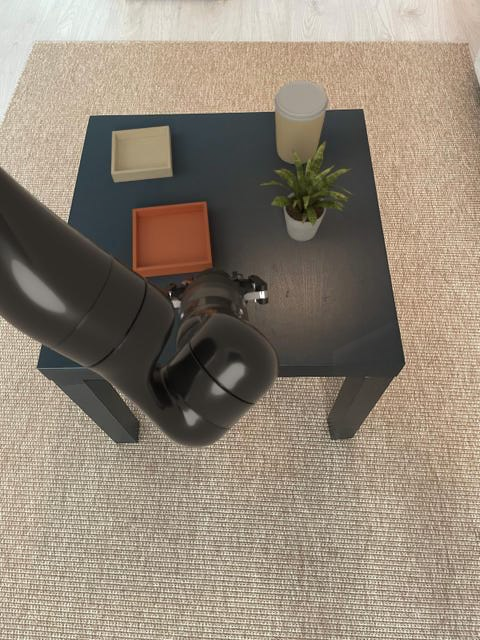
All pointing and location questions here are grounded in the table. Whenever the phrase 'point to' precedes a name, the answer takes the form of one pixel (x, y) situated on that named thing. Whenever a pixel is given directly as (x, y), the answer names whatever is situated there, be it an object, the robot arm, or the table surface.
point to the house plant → (308, 196)
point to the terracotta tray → (171, 239)
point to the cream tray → (141, 154)
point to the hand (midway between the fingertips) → (213, 280)
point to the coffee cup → (299, 119)
